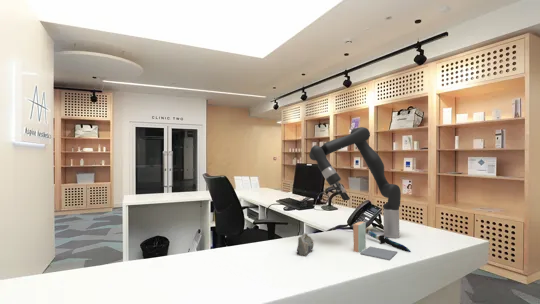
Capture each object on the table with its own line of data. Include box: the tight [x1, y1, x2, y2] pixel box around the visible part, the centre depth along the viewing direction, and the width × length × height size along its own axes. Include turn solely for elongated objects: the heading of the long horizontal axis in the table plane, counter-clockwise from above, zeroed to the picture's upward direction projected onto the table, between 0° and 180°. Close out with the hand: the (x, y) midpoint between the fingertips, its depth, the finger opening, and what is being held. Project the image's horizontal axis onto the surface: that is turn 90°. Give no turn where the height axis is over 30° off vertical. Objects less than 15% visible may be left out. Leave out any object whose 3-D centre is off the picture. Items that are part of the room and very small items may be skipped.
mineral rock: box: [296, 232, 314, 256], centre depth 141 cm, size 13×11×10 cm
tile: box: [352, 221, 367, 253], centre depth 146 cm, size 10×3×14 cm, turn 142°
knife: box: [366, 229, 412, 253], centre depth 155 cm, size 31×3×4 cm, turn 21°
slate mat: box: [359, 246, 398, 261], centre depth 140 cm, size 15×14×1 cm
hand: (347, 199), depth 153 cm, fingers open, 8 cm apart
